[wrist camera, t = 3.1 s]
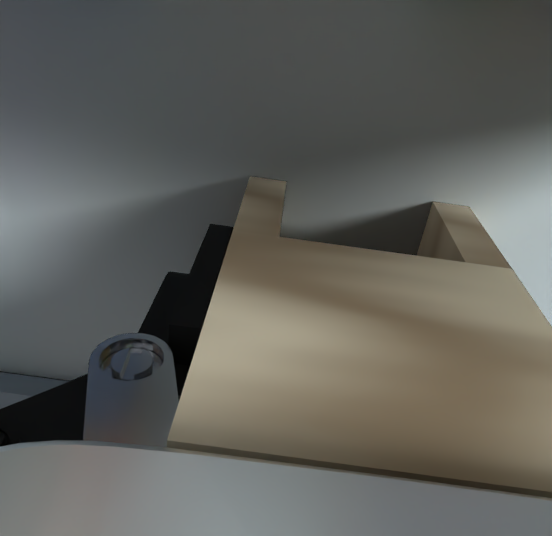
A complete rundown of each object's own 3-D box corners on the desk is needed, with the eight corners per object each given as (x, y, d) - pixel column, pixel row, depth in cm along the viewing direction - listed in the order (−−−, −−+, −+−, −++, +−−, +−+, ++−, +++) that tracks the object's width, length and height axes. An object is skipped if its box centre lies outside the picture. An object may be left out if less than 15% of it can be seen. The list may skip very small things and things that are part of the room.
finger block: (234, 334, 15) (163, 655, 8) (250, 176, 12) (166, 439, 5) (416, 359, 15) (509, 700, 8) (469, 206, 12) (676, 508, 5)
